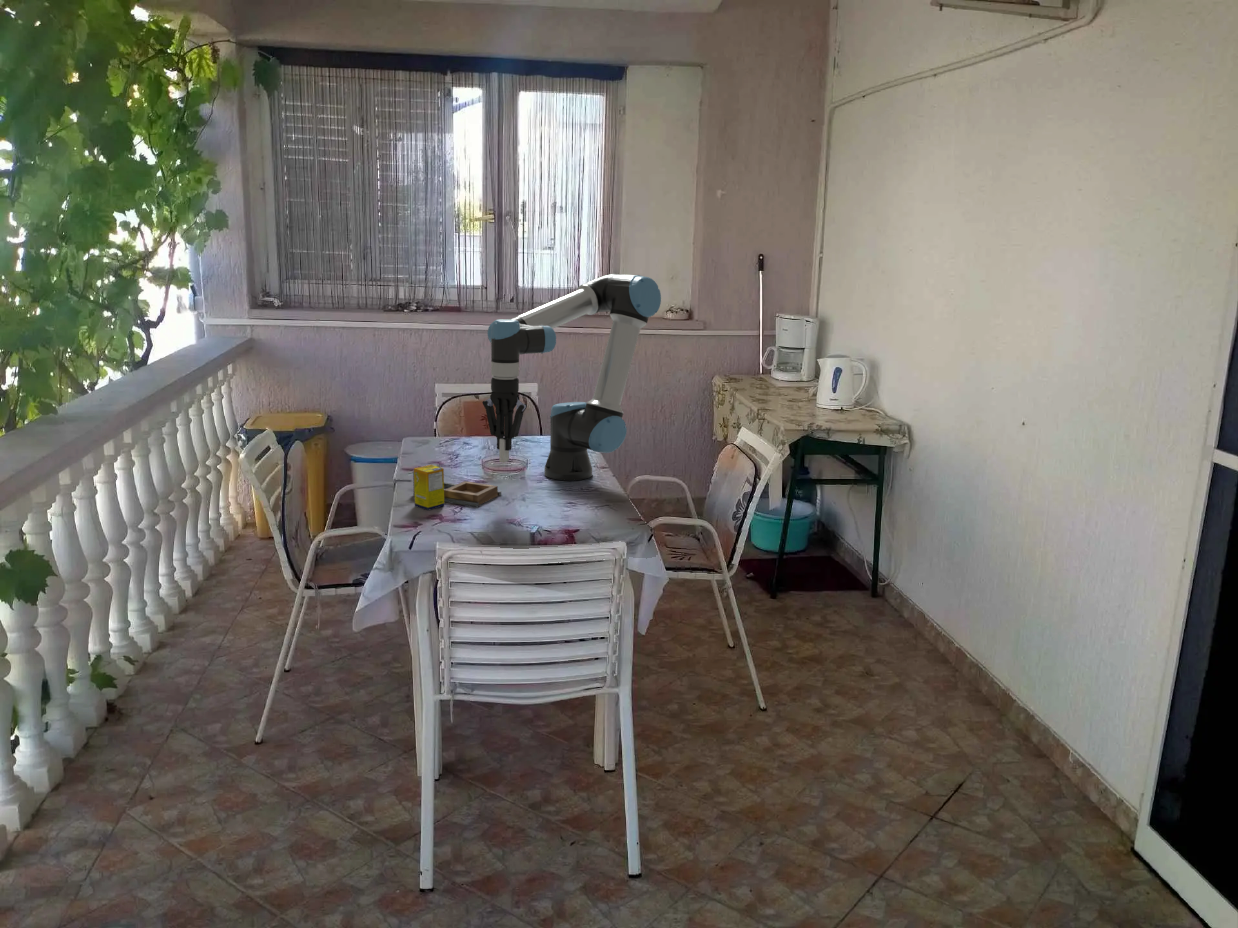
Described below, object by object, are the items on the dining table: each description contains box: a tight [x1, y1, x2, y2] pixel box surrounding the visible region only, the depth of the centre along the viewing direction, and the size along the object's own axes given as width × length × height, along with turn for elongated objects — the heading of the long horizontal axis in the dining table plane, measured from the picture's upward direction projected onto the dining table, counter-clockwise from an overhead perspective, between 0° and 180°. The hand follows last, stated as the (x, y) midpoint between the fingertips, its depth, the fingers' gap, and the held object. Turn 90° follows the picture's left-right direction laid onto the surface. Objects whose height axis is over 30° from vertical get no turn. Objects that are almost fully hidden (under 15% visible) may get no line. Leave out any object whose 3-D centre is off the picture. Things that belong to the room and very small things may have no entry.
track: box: [412, 463, 502, 508], centre depth 267 cm, size 22×14×7 cm, turn 67°
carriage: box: [444, 480, 499, 506], centre depth 265 cm, size 11×11×3 cm
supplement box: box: [413, 464, 445, 511], centre depth 256 cm, size 6×6×11 cm
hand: (504, 461), depth 258 cm, fingers closed
